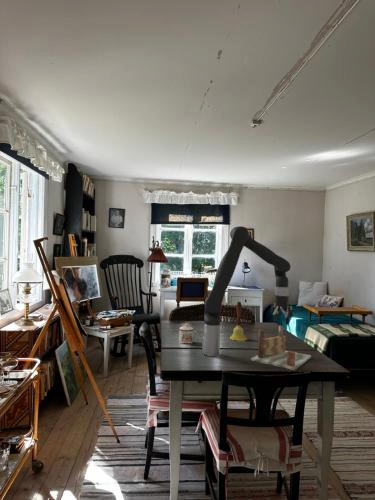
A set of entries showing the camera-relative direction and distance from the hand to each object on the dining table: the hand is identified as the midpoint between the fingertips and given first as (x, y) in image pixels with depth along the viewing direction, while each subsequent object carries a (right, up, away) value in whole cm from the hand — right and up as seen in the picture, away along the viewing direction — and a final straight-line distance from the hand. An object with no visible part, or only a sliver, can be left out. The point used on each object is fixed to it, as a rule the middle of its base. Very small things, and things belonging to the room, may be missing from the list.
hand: (281, 322), depth 201 cm
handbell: (-20, -18, +34) cm, 43 cm away
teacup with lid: (-54, -17, +21) cm, 60 cm away
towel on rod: (-2, -18, -8) cm, 20 cm away
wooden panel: (-5, -17, -3) cm, 18 cm away
